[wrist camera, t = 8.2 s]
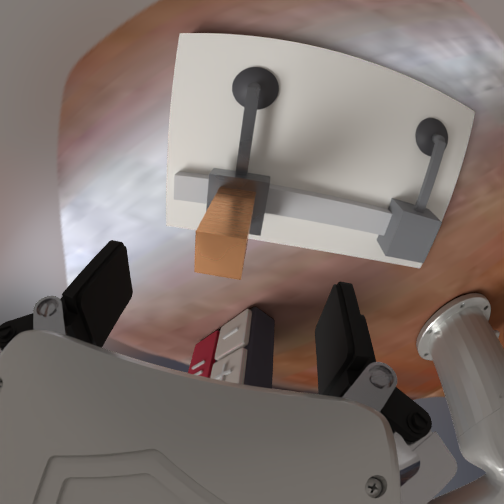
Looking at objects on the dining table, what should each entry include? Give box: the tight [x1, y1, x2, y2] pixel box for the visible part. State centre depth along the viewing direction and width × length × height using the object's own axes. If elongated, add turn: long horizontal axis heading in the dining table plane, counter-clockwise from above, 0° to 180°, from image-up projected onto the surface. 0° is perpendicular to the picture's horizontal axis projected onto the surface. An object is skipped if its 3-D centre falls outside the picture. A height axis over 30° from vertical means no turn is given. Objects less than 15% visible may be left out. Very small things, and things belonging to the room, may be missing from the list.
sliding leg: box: [195, 82, 270, 280], centre depth 15 cm, size 4×10×8 cm, turn 172°
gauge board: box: [166, 33, 475, 268], centre depth 18 cm, size 24×16×4 cm, turn 82°
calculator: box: [188, 307, 274, 389], centre depth 26 cm, size 11×4×15 cm, turn 137°
